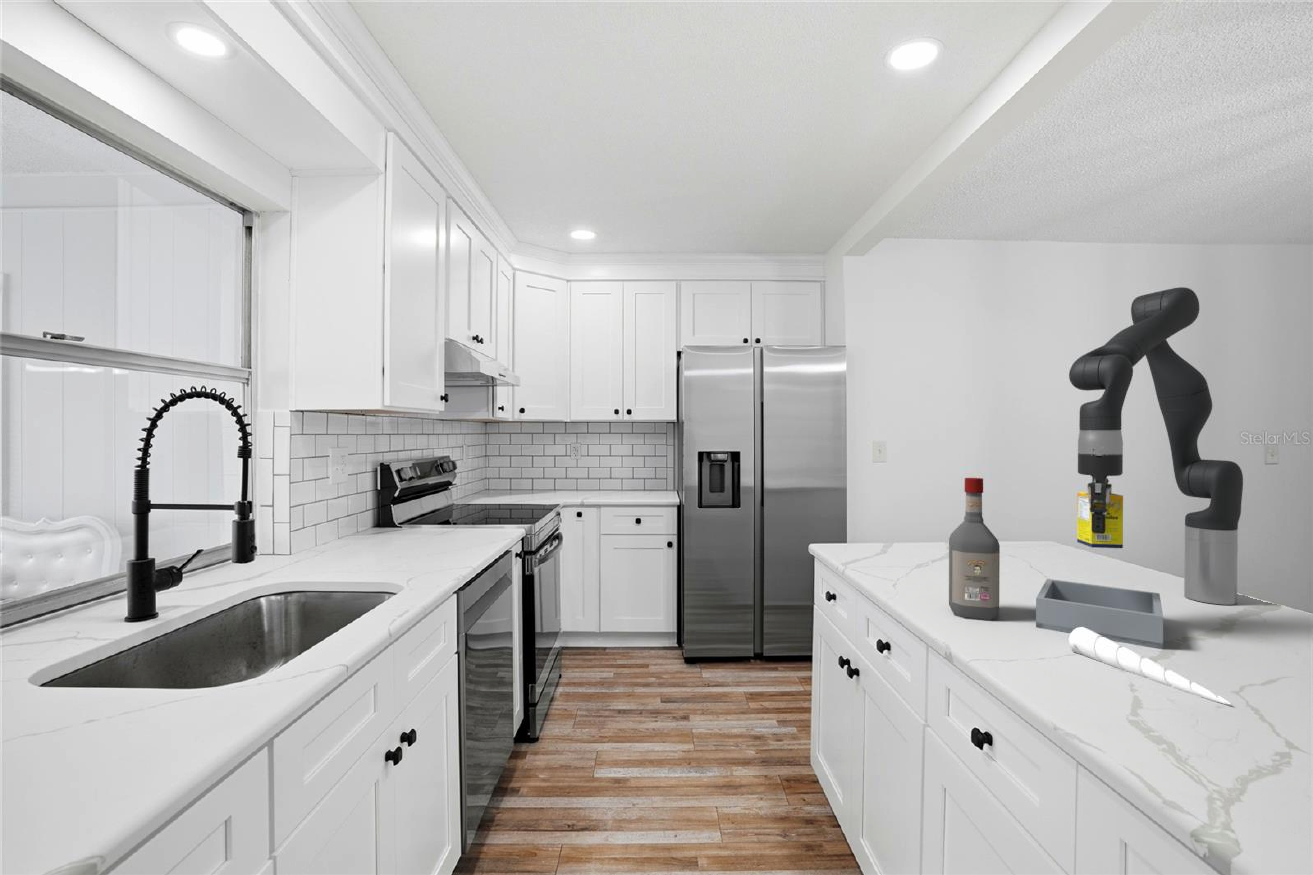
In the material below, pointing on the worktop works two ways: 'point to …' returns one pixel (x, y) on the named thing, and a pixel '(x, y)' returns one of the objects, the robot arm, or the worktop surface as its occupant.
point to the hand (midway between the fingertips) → (1099, 530)
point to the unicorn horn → (1133, 662)
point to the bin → (1101, 611)
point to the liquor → (974, 561)
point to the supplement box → (1112, 522)
